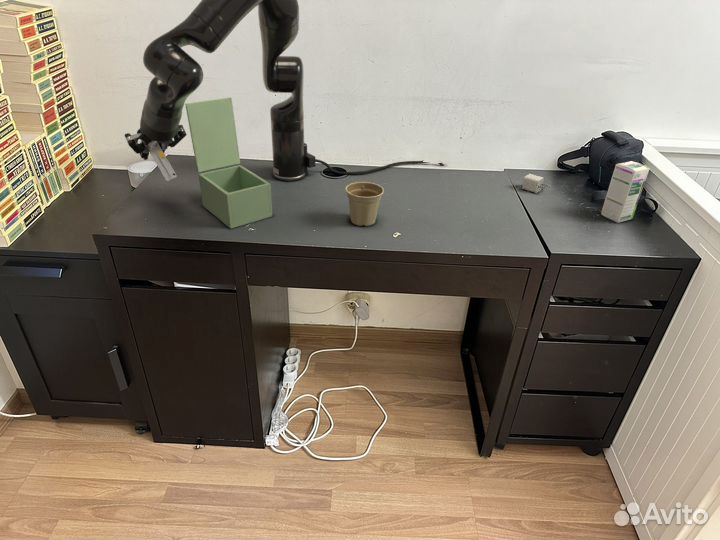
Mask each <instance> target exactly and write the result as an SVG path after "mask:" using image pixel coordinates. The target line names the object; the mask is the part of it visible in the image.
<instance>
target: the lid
mask: <svg viewBox="0 0 720 540" xmlns="http://www.w3.org/2000/svg"><path fill="white" fill-rule="evenodd" d="M232 98H233V97H223V98H215V99H208V100H200V101H192V102H187V103H186V102H185V103H184V106H185V110H186V116H187V121H188V128H189V133H190V138H191V145H192V149H193V156H194V161H195V166H196V171H197V173H203V172H208V171H213V170H217V169H222V168H227V167H231V166H236V165H240V164H241V157H240V151H239V143H238V136H237V127H236V120H235V114H234V105H233V99H232Z"/></svg>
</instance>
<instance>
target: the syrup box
mask: <svg viewBox="0 0 720 540" xmlns="http://www.w3.org/2000/svg"><path fill="white" fill-rule="evenodd" d="M650 169H651V168H650V167H649V166H647V165H644V164H642V163H639V162H636V161H632V160H630V161H626V162H620V163H616V164H615V167H614V169H613V173H612V176H611V180H610V183H609V186H608V189H607V192H606V195H605V198H604V202H603V206H602V208H601V212H600V215H601V216H603V217H604V218H606V219H608V220H611V221H613V222H614V223H617V224H620V223H622V222H626V221H630V220H631V221H632V220H633V218H634V216H635V213H636V210H637V206H638V204H639V201H640V197H641V195H642V192H643V189H644V186H645V183H646V180H647V177H648V175H649V172H650Z"/></svg>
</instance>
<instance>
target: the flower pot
mask: <svg viewBox="0 0 720 540" xmlns="http://www.w3.org/2000/svg"><path fill="white" fill-rule="evenodd" d="M344 191H345V192H346V195H347V198H348V206H349V216H350V222H351V223H352V224H353V225H355V226H359V227H361V226H365V227H369V226H371V225H374V224H375V223H376V221H377V220H376V219H377V214H378V210H379V206H380V201H381V199H382V196H383V195H384V193H385V189H384V187H383V186H382V185H380V184H378V183H376V182H375V183H374V182H371V181H355V182H352V183H349V184H347V185H346V186H345V190H344Z"/></svg>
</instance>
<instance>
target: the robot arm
mask: <svg viewBox="0 0 720 540" xmlns="http://www.w3.org/2000/svg"><path fill="white" fill-rule="evenodd" d="M256 7H257V16H258V26H259V33H260V41H261V63H262V64H261V66H262V68H261V69H262V70H261V73H262V82H263V85H264V88H265V89H266V90H267V91H268V92H269V93H273V94H278V93H279V94H291V95H290V96H289V97H288V98H287V99H285V100H282V101H281V102H277V103H276V104H274V105H272V106H271V107H270V111H269V114H270V116H269V117H270V133H271V149H272V172H273V173H272V175H273V177H274V178H275V179H277V180H279V181H284V182H293V181H298V180H301V179H304V178H305V176H308V175H309V171H308V169H312V168H315V167H316V163H319V164H322V165H323V166H325V167H326V168H327V169H328V170H329V171H330V172H332V173H335V174H337V175H345V176H349V175H350V176H352V175H365V174H369V173H373V172H378V171H381V170H385V169H388V168H391V167H394V166H399V165H408V164H412V165H413V164H428V163H429V162H423V161H424V160H405V161H397V162H392V163H389V164H386V165H383V166H380V167H375V168H371V169H367V170H360V171H339V170H336V169H333V168H332V167H331V166H330V165H329V164H328V163H327V162H325V161H323V160H321V159H316V155H313V154H311V153H309V152H308V144H307V143H306V142H305V122H304V121H305V119H304V118H305V117H304V80H305V79H304V75H305V71H304V63H303V60H302V58H301V57H300V56H295V55H282V54H283V53H284V52H285V51H286V50H287V49H288V48H289V47H290V46H291V45H292V44H293V42H295V40H296V38H297V36H298V34H299V31H300V5H299V2H298V0H201V1H200V2H199V3H198V4H197V5H196V7H195V8H193V10H192V11H191V13H190V14H189V15H188V16H187V17H186V18H185V19H184V20H183V21H182V22H180V23H179V24H177V25H176V26H175V27H173V28H172V29H170V30H169V31H167V32H165V33H163V34H162V35H160V36H158V37H156V38H155V39H154V40H152V41H151V42H149V44H148V45H147V46H146V47H145V49H144V51H143V56H142V63H143V66H144V67H145V69H146V70H147V71H148V72H149V73H150V74H151V75H153V76H154V77H153V78H152V79H151V80H150V82H149V85H148V88H147V93H146V98H145V100H144V102H143V105H142V110H141V117H140V120H139V128H138V129H137V131H136V133H134V134H131V133H129V132H127V133H125V134H124V137H125V140H126V143H127V145H128V146H129V147H130V148H131V150H132V151H133V152H134V153H135V154H138V155H140V158H141V159H143V160H144V161H147V160H148V159H149V155H150V152H149V151H150V149H153V147H154V145H155V144H157V143H158V144H159V146H160V147H161V149H162V151H163V153H164V154H165V152H166V150H167V149H168V147H170V148H174V147H176V146H177V145H178V144H179V143H180V142H181V141H182V140H183V139H184V138H185V137H187V131H186V130H185V127H184V125H183V124H180V123H181V120H182V116H183V110H184V106H185V103H186V101H187V99H188V98H189V96H191V95H192V94H193V93H194V92H195V91H196V90H198V88H199V87H201V84H202V83H203V81H204V71H203V67H202V66H201V64H200V63H199V62H198V61H197V60H195V58H193V57H192V56H191V55H190V54H189V53H188V52H186V51H185V50H184V49H183V47H185V46H186V47H187V46H192V47H195V48H196V49H199V50H200V51H202V52H204V53H207V54H213V53H214V52H216V51H217V49H219V47H220V46H221V45H222V43H223V42H224V41H225V40H226V39H227V38H228V36H229V35H230V34H231V33H232V32H233V31H234V29H235V28H236V27H237V26H238V25H239V24H240V23H241V22H242V20H243V19H244V18H245V17H246V16H247V15H249V14H250V13H251V11H252V10H253V9H255V8H256ZM139 140H140V142H139ZM138 142H139V143H138ZM437 164H438V165H440V167H445V164H444V163H443V162H441V163H437Z"/></svg>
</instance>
